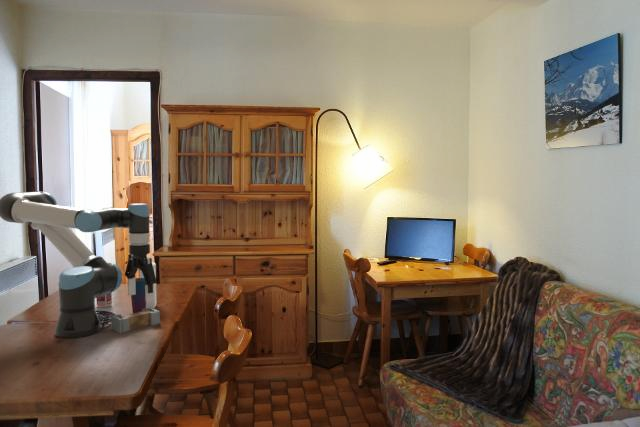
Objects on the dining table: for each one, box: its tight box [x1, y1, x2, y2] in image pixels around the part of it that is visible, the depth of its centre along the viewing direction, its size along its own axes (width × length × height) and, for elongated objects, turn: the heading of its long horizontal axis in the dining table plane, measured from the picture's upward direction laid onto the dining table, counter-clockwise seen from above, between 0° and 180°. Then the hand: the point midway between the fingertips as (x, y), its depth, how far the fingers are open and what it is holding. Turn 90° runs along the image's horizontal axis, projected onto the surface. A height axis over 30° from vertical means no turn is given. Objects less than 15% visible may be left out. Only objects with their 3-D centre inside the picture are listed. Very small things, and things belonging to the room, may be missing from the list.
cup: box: [130, 277, 146, 314], centre depth 206 cm, size 7×7×15 cm
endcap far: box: [142, 308, 161, 326], centre depth 196 cm, size 4×7×5 cm, turn 47°
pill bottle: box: [96, 293, 113, 308], centre depth 219 cm, size 6×6×11 cm
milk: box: [139, 256, 157, 309], centre depth 218 cm, size 6×6×22 cm
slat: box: [119, 310, 152, 331], centre depth 191 cm, size 12×4×5 cm, turn 140°
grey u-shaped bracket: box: [110, 313, 130, 334], centre depth 187 cm, size 4×7×5 cm, turn 47°
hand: (140, 298), depth 193 cm, fingers open, 13 cm apart
